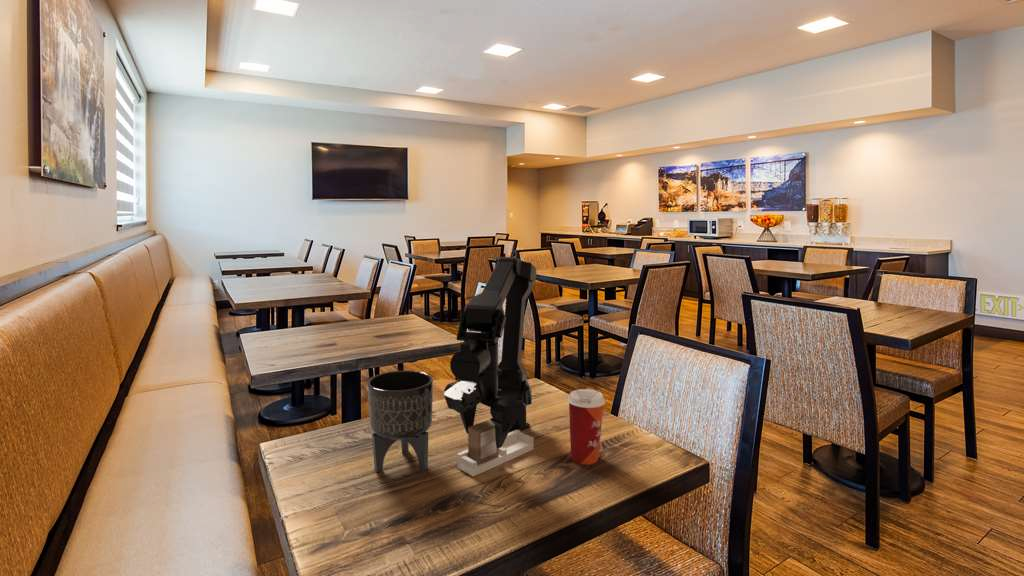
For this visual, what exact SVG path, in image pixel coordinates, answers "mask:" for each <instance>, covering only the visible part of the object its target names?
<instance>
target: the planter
mask: <svg viewBox="0 0 1024 576" xmlns="http://www.w3.org/2000/svg"><path fill="white" fill-rule="evenodd" d="M366 389H367V400H368V401H367V403H368V412H369V413H368V414H369V423H370V429H371V431H372V432H373V433H371V441H372V452H373V462H374V463H373V464H374V471H375V472H376V473H379V472H383V470H384V469H383V468H384V461H385V459H386V454H387V452H388V450H389V449H390V448H391V447H392V445H393V444H395V442H397V441H400V443H401V454H409V450H410V449H409V448H410V446H411V447H412V449H413V450H414V452H415V455H416V458H417V462H418V469H419V471H422V472H423V471H424V472H425V471H426V470H427V469H428V467H429V460H428V459H429V432H428V430H429V429H430V427H431V426H432V423H433V398H434V397H433V396H434V395H433V394H434V379H433V377H432V375H430V374H428V373H426V372H423V371H418V370H393V371H392V370H391V371H387V372H382V373H378V374H376V375H374V376H372V377H370V378H369V379H368V380H367V382H366ZM409 445H410V446H409Z"/></svg>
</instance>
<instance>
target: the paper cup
mask: <svg viewBox="0 0 1024 576" xmlns="http://www.w3.org/2000/svg"><path fill="white" fill-rule="evenodd" d="M567 402H568V407H569V409H568V411H569V414H568V415H569V441H570V456H571V457H570V458H571V460H572V461H573V463H576V464H579V465H583V466H584V465H585V466H589V465H594V464H596V463H597V462H598V460H599V455H600V453H599V452H600V445H601V436H602V433H601V432H602V426H603V425H602V423H603V413H604V405H605V404H606V399H605V398H604V395H603V393H601V392H600V391H597V390H595V389H587V388H586V389H585V388H580V389H575V390H572V391H571V392H570V393H569V395H568V397H567Z"/></svg>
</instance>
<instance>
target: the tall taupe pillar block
mask: <svg viewBox="0 0 1024 576" xmlns="http://www.w3.org/2000/svg"><path fill="white" fill-rule="evenodd" d="M467 435H468V437H467V438H468V439H467V440H468V441H467V443H468V444H467V446H468V447H467V449H468V457H469V458H471V459H472V460H474V461H476V462H477V465H480V464H483V463H485V462H487V461H489V460H492V459H494V458H496V457H499V448H497V447H496V439H495V424H494V423H493V422H492V421H491V420H490V419H487V420H484V421H482V422H479V423H476V424H474V425H473V426H470V427H468V434H467Z"/></svg>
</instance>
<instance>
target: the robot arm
mask: <svg viewBox="0 0 1024 576" xmlns="http://www.w3.org/2000/svg"><path fill="white" fill-rule="evenodd" d="M494 265H495V266H494V268H493V270H492V273H491V275H490V276H489V278H488V280H487V283H486V284H485V286H484V288H483V290H482V291H481V292H480V293H479V294H477V295H475V296H472V297H471V299H469V301H468V302H467V304H466V306H465V307H464V308H463V311H462V314H461V318H460V322H459V326H458V331H457V334H456V341H460V342H461V341H463V342H462V343H460V344H459V345H460V347H459V348H460V349H459V350H458V351H456V352H455V353H454V354H453V356H451V359H450V363H449V366H450V370H451V372H452V374H453V376H454V377H455V378H456V379H458V381H454V382H451V383H448V384H447V385H446V386H445V387H444V391H443V397H444V399H445V402H446V405H447V408H448V409H449V410H453V411H455V412H456V413H458V414H459V416H460V418H461V421H462V424H463V427H464V429H465V432H466V434H467V435H468V427H470V426H473V425H475V418H476V412H477V407H478V405H479V404H482V405H483V406H486V407H489V408H490V410H489V413H490V415H491V418H489V420H490V421H492V422H493V423H494V424H495V439H496V447H497V448H501V447H502V445H503V443H504V441H505V439H506V437H507V435H508V433H510V432H512V431H514V430H517V429H518V430H520V431H522V430H524V429H526V428H530V426H531V424H530V423H528V422H527V407H528V406H529V405H532V404H533V403H532V401H533V399H532V397H533V395H532V392H533V391H532V388H531V386H530V384H529V381H528V379H527V378H528V373H527V371H526V368H525V366H524V365H523V363H522V353H523V352H522V351H523V339H524V338H523V337H524V336H523V335H524V324H525V322H524V321H525V310H526V309H525V308H526V300H527V299H528V297H529V295H530V294H531V293H532V292H533V289H534V283H536V280H537V268H536V266H535V265H533V264H532V262H531V261H524V260H521V259H520V258H518V257H514V256H499V257H496V260H495V264H494ZM504 303H505V309H504V306H503V305H504ZM501 338H502V349H501V360H500V362H499V339H501Z"/></svg>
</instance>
